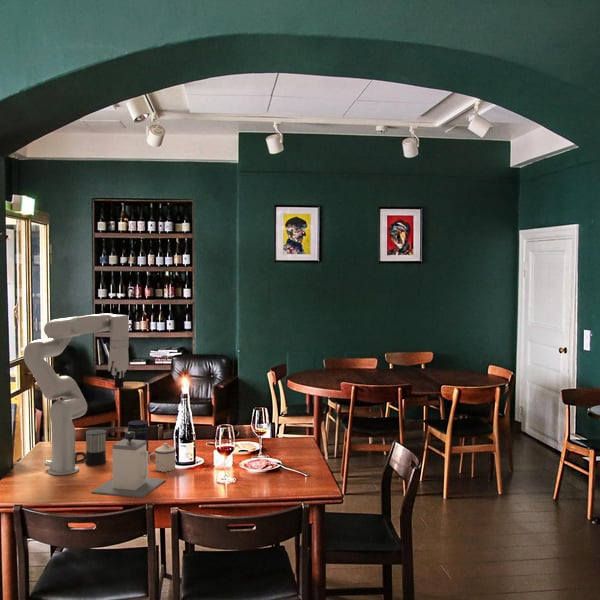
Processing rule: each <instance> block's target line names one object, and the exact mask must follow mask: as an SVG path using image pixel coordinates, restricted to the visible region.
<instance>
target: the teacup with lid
mask: <svg viewBox="0 0 600 600" xmlns="http://www.w3.org/2000/svg"><path fill="white" fill-rule="evenodd" d="M176 451H177V449H176V447H173V446H171V445H170V444H168V443H167V442H163V444H162V445H161V446H159V447H156V448H155V449H154V452H151V453H150V454H148V462H150V464H153V465H155V471H157V472H160V471H161V472H163V473H167V471H169V472H172V470H173V471H174V470H175V469H176ZM152 455H154V456H155V461H153V460H152V459H151V456H152Z"/></svg>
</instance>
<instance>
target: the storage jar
mask: <svg viewBox="0 0 600 600" xmlns="http://www.w3.org/2000/svg"><path fill="white" fill-rule="evenodd" d="M127 425H128V426H127V432H129V431H133V432H135V439H133V440H146V441H147V444H146V451H148V452H149V440H148V439H149V421H148V420H146V419H145V420H144V419H143V420H142V419H136V420H131V421H128V422H127Z"/></svg>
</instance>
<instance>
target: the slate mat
mask: <svg viewBox="0 0 600 600" xmlns="http://www.w3.org/2000/svg"><path fill="white" fill-rule="evenodd" d="M164 482H166V478H156V477H155V478H154V477H148V478H147V479H146V483H145V484H143V485H142V486H141V487H139V488H138V489H136V490H128V489H117V488H112V478H111V479H109V480H107V481H106V482H103V484H101V485H99V486H98V487H96V488H95V489H93V490H91V491H90V494H98V495H106V494H107V495H109V496H118V497H119V496H120V497H129V498H139V499H140V498H142V499H143V498H145V497H146V496H147V495H148V494H150V493H151V492H152V491H154V490H155V489H156V488H157V487H159V486H161V484H163V483H164Z"/></svg>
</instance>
